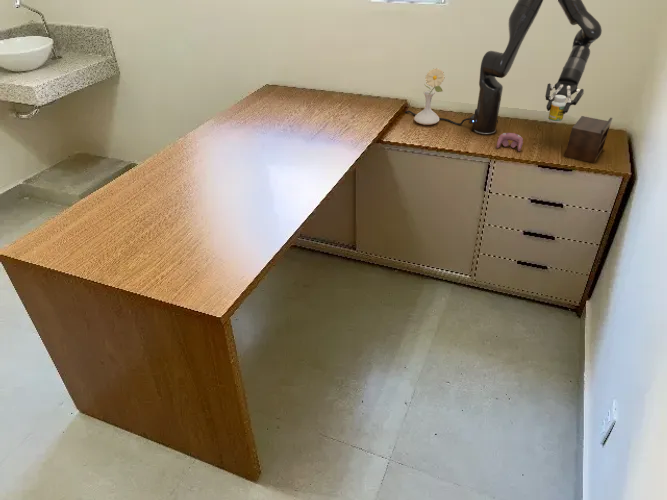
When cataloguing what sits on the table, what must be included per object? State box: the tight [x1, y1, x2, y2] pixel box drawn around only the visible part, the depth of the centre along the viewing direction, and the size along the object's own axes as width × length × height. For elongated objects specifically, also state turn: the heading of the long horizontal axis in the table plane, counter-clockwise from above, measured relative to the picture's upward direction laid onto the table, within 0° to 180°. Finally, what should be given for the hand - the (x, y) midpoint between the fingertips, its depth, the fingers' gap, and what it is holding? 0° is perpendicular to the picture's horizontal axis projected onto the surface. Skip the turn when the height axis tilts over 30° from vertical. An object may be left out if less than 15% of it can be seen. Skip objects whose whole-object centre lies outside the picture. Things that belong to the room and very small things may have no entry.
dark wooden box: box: [564, 115, 613, 164], centre depth 198 cm, size 11×14×14 cm
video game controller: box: [496, 132, 524, 153], centre depth 206 cm, size 10×5×7 cm, turn 65°
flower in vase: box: [413, 67, 446, 126], centre depth 223 cm, size 13×11×25 cm
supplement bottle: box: [547, 95, 567, 123], centre depth 198 cm, size 5×5×10 cm
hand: (555, 111), depth 197 cm, fingers closed on supplement bottle, 5 cm apart
